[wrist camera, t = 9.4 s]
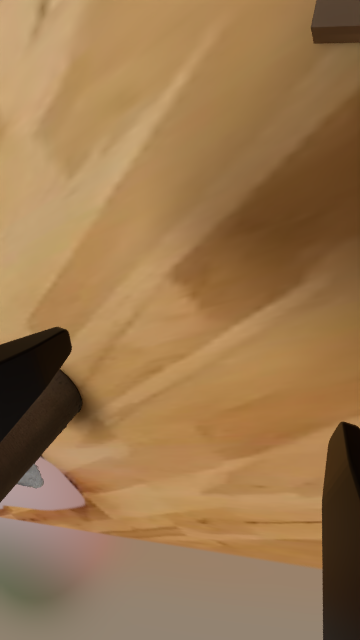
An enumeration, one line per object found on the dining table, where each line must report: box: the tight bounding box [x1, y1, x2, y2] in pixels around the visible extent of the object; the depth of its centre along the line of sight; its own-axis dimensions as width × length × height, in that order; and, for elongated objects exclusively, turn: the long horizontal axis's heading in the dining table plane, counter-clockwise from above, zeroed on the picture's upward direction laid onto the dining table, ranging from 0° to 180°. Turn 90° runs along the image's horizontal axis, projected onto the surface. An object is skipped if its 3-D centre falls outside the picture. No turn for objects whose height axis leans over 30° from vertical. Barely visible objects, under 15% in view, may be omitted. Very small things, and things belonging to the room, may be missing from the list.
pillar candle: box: [0, 370, 82, 502], centre depth 32 cm, size 10×10×15 cm
